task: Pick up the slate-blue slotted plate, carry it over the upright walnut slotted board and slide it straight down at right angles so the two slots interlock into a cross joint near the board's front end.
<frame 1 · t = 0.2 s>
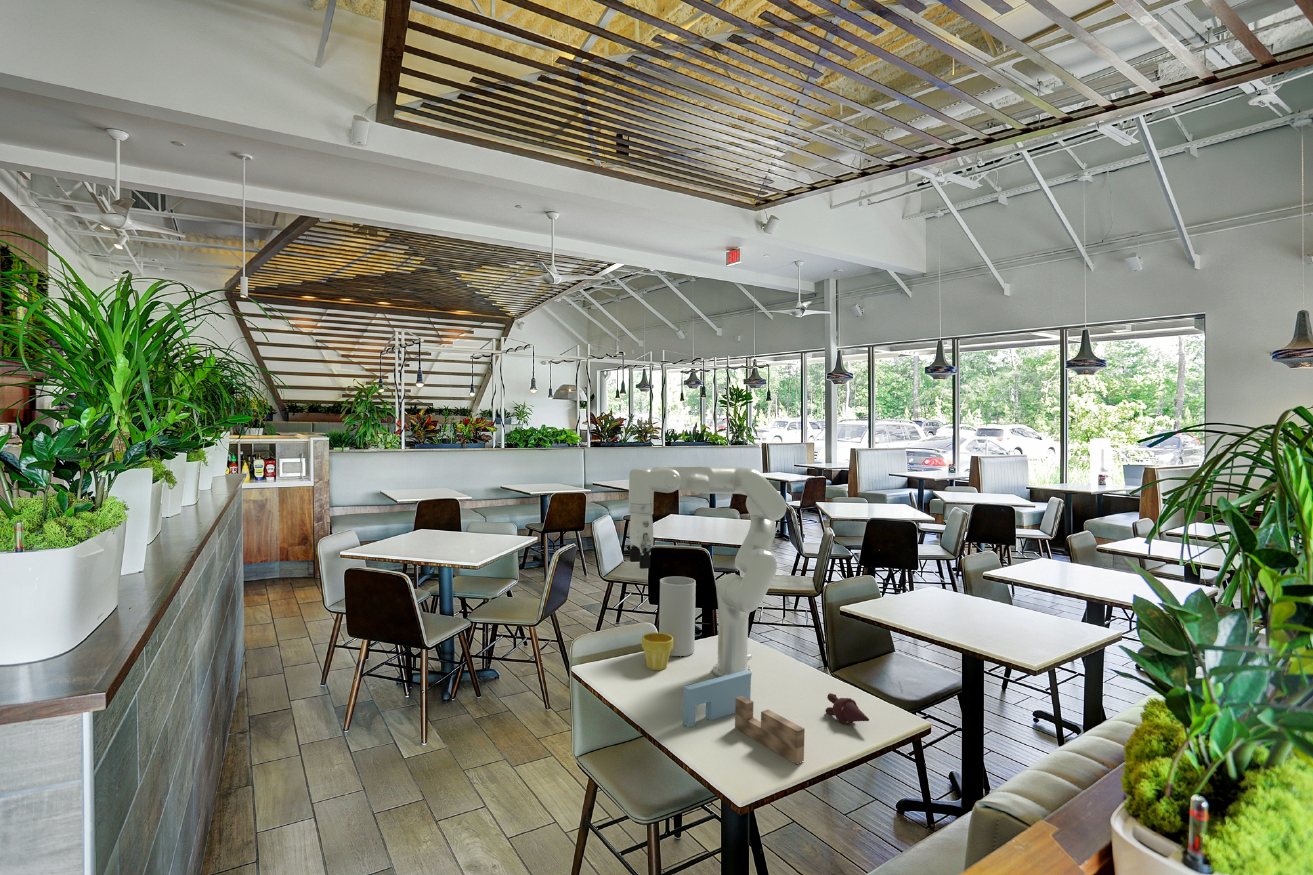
hand: (639, 564, 198), 37 cm above the table, tool pointing down, fingers open, 9 cm apart
walnut board: (767, 743, 163), on the table
slotted plate: (717, 715, 179), on the table
plant pot: (657, 667, 214), on the table
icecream: (846, 723, 176), on the table
cylinder vase: (676, 651, 229), on the table
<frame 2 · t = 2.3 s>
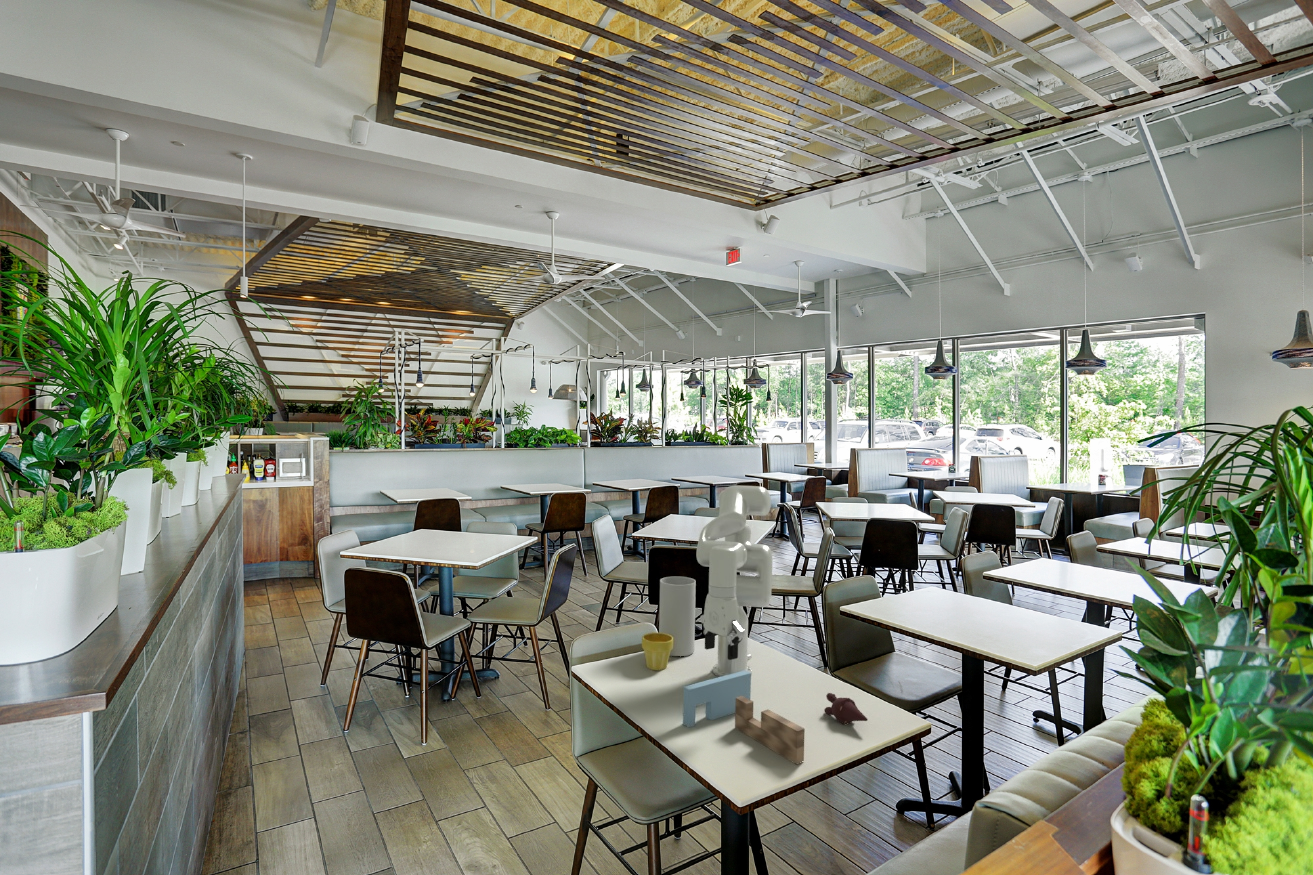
hand: (720, 653, 178), 17 cm above the table, tool pointing down, fingers open, 9 cm apart
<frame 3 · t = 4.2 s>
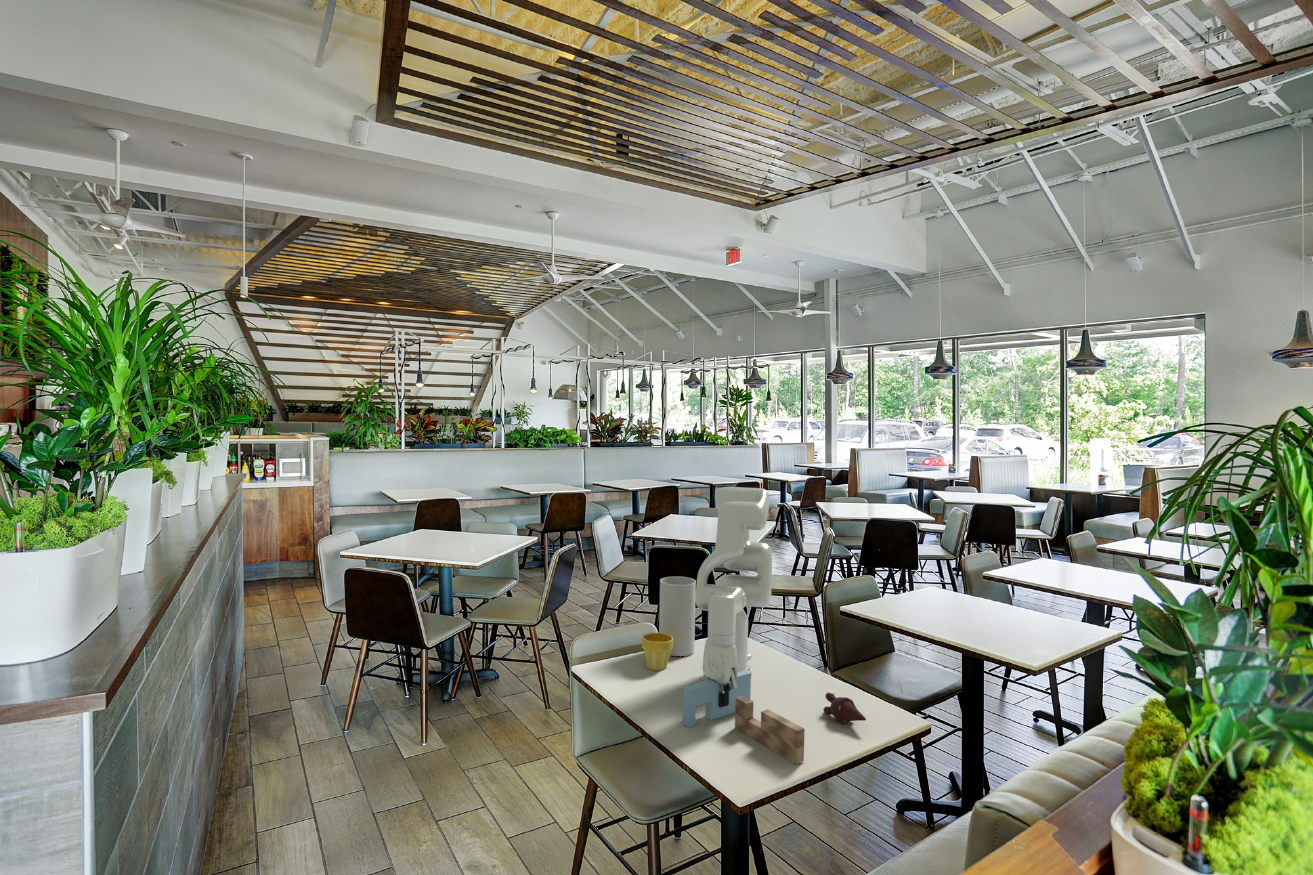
hand: (719, 703, 179), 3 cm above the table, tool pointing down, fingers closed on slotted plate, 2 cm apart
slotted plate: (717, 715, 179), on the table, touching gripper
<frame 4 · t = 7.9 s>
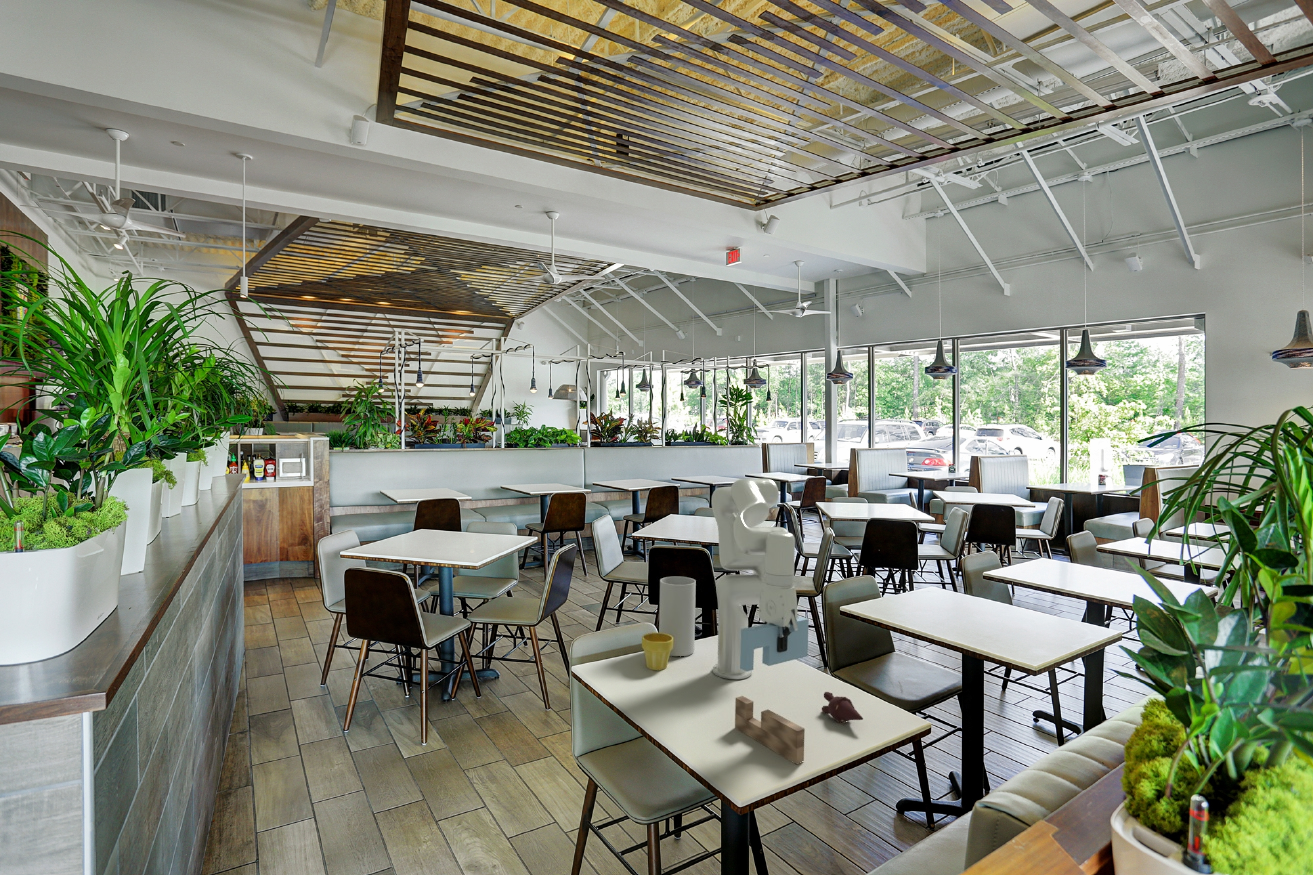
hand: (777, 649, 170), 22 cm above the table, tool pointing down, fingers closed on slotted plate, 2 cm apart
slotted plate: (774, 662, 169), point 18 cm above the table, touching gripper
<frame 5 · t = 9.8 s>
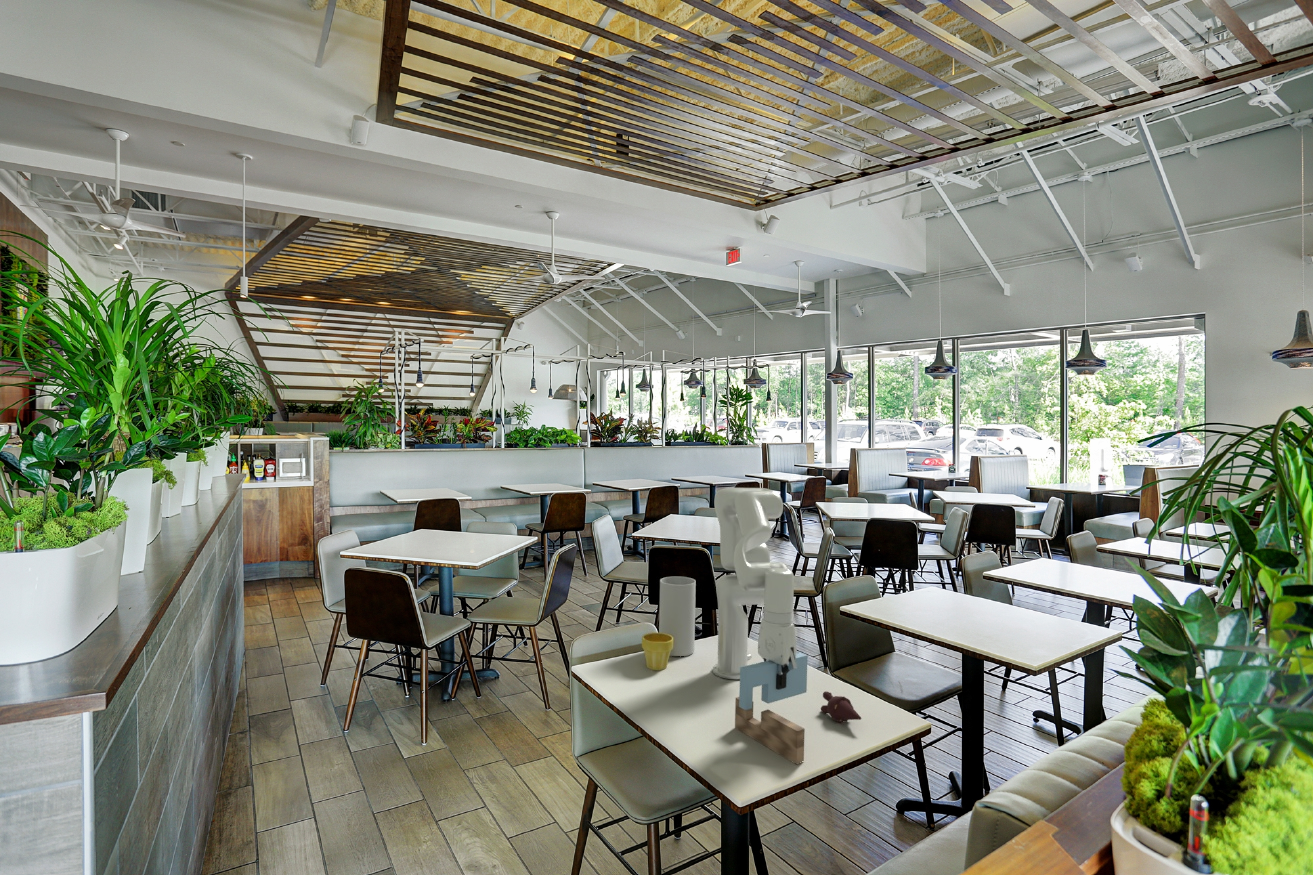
hand: (776, 685, 170), 12 cm above the table, tool pointing down, fingers closed on slotted plate, 2 cm apart
slotted plate: (773, 699, 170), point 9 cm above the table, touching gripper
when the fingers open (4 cm above the table, at t = 11.6 s): slotted plate stays where it is, on the table.
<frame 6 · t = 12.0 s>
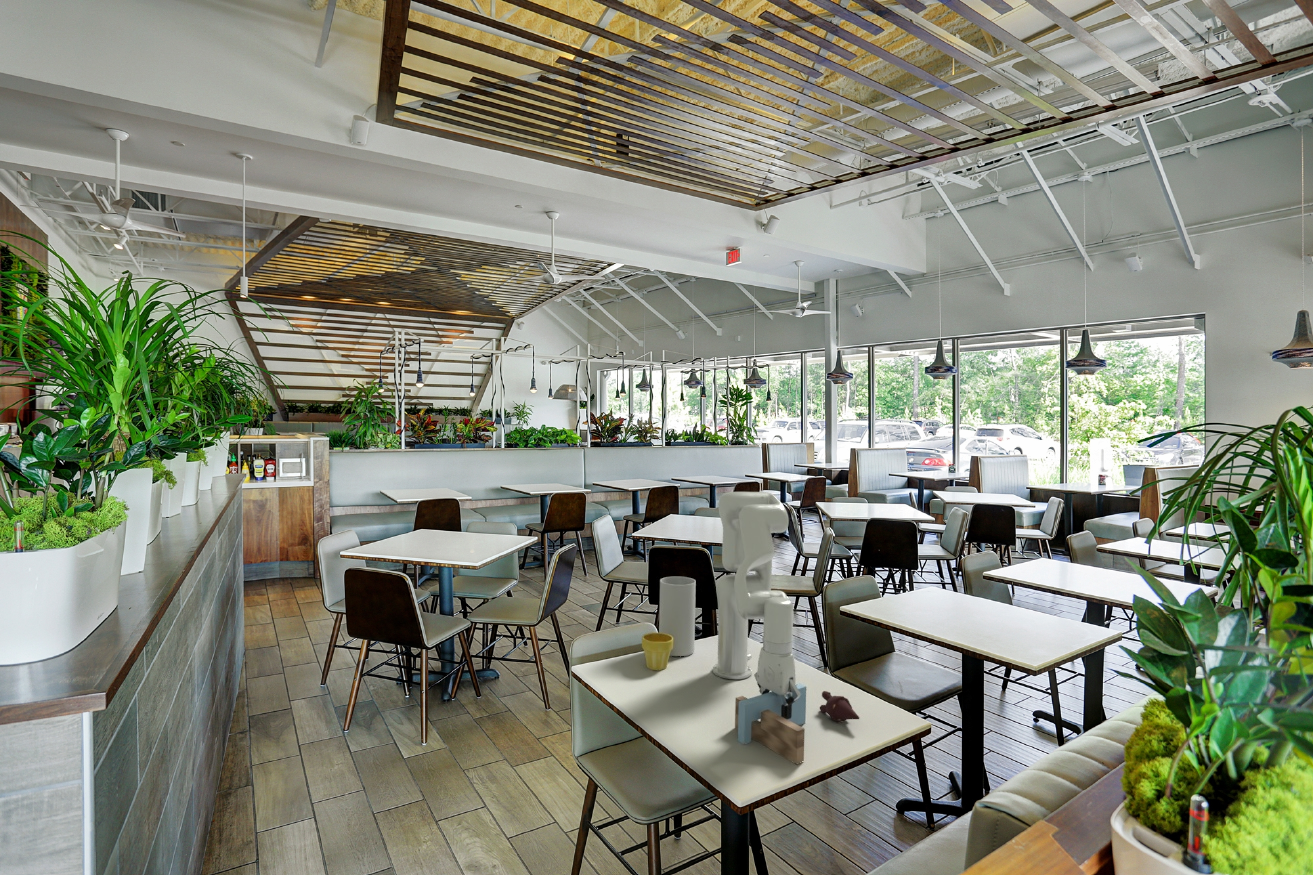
hand: (776, 712, 170), 5 cm above the table, tool pointing down, fingers open, 6 cm apart
slotted plate: (772, 731, 170), on the table
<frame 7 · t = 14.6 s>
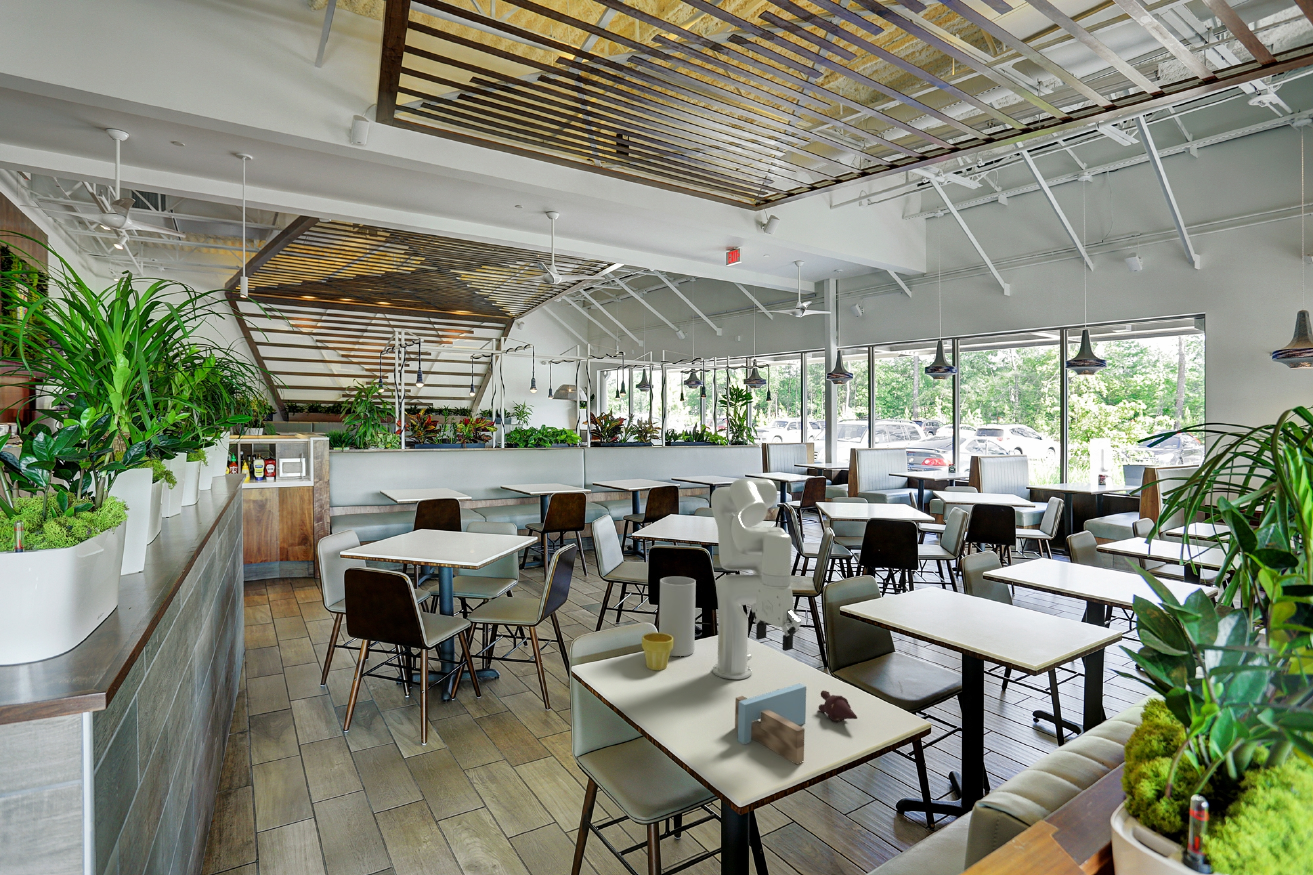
hand: (774, 643, 171), 23 cm above the table, tool pointing down, fingers open, 9 cm apart
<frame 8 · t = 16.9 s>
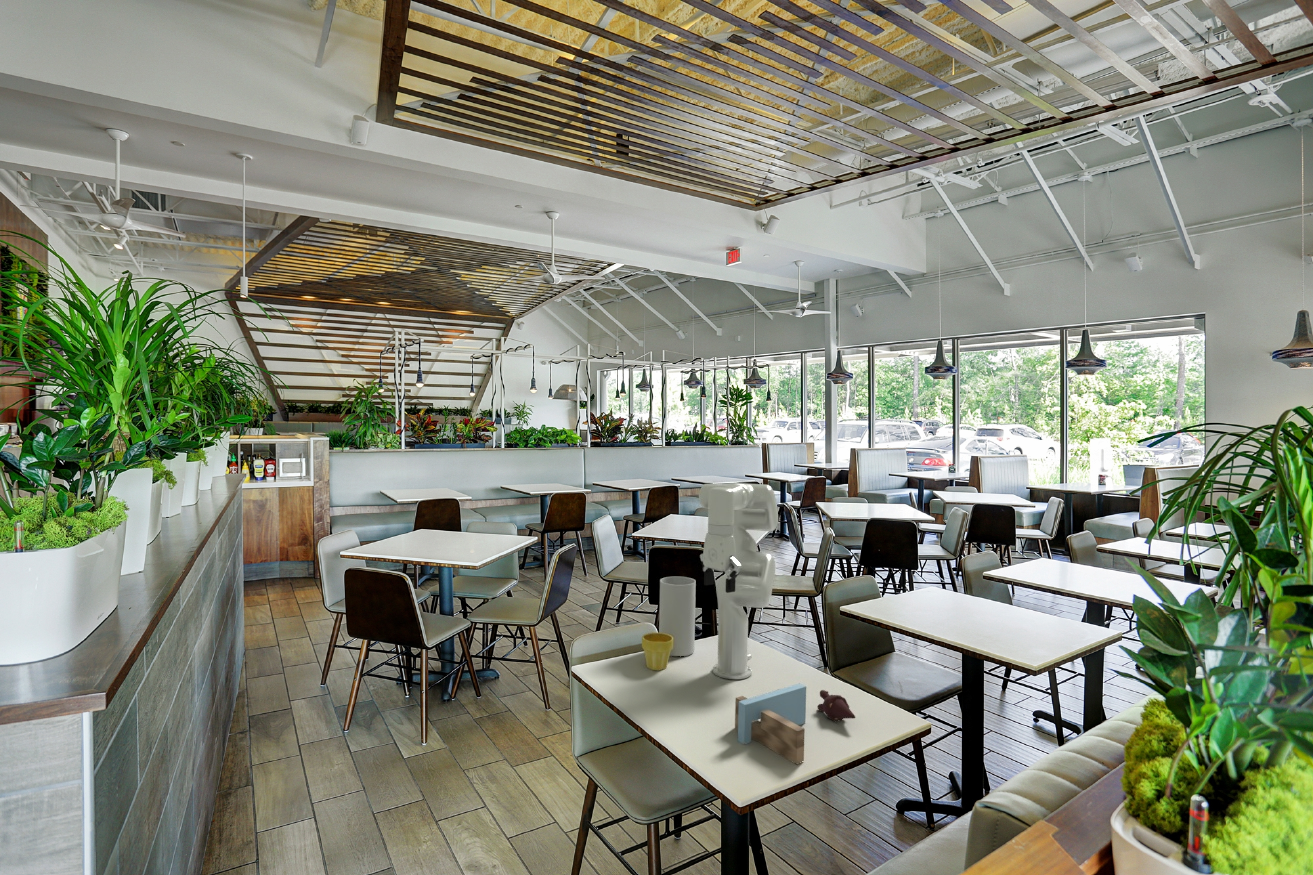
hand: (719, 588, 190), 32 cm above the table, tool pointing down, fingers open, 9 cm apart
at the end: slotted plate 0.2 cm from the target spot on the table beside the walnut board, on the table; slotted plate tilted 0°; the gripper is holding nothing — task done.
